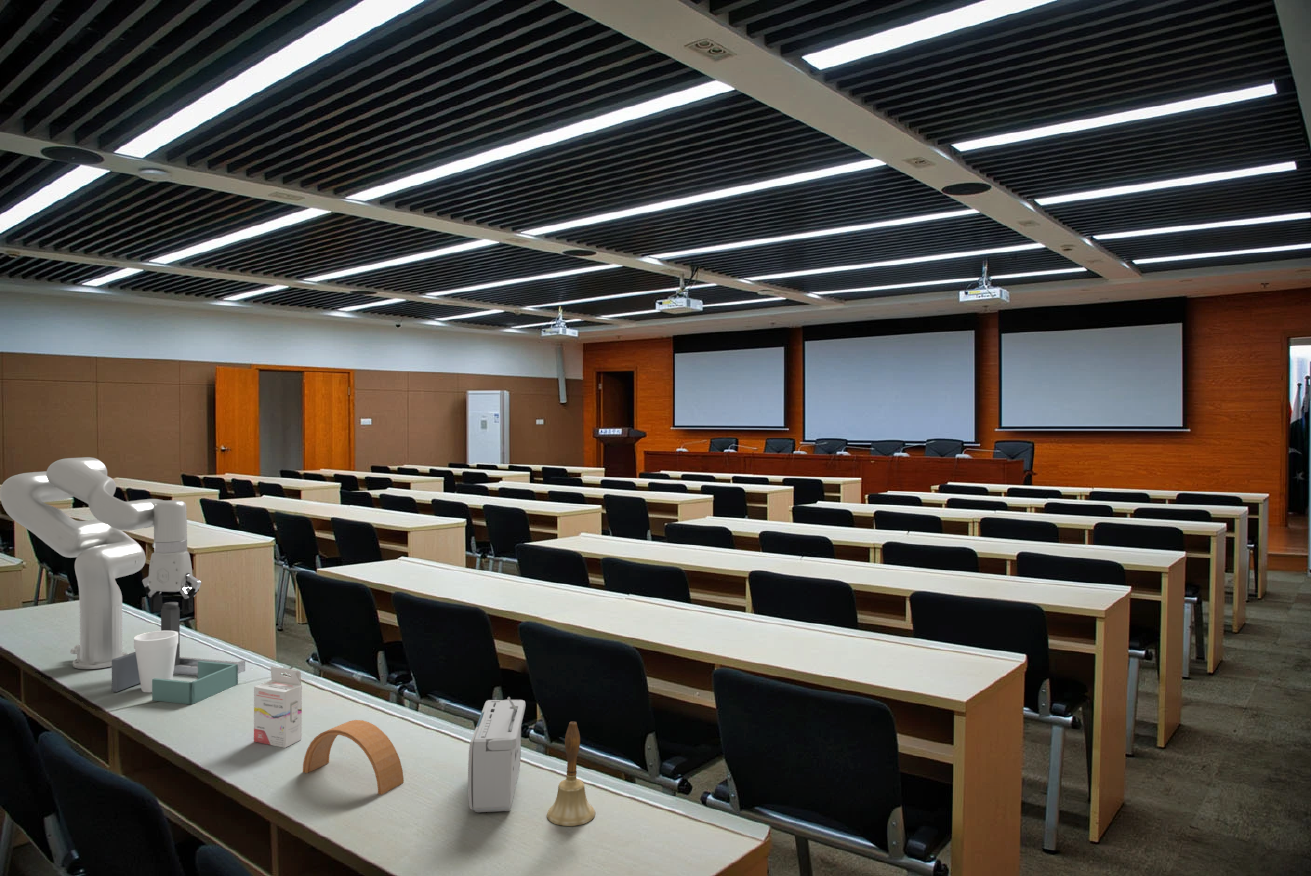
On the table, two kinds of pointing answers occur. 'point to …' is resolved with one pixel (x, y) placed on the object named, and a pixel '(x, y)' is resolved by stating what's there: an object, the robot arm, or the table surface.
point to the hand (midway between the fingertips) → (172, 612)
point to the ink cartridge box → (278, 709)
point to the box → (197, 684)
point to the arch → (369, 741)
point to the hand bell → (571, 788)
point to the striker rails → (191, 665)
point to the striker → (127, 665)
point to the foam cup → (155, 656)
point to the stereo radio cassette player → (495, 756)
